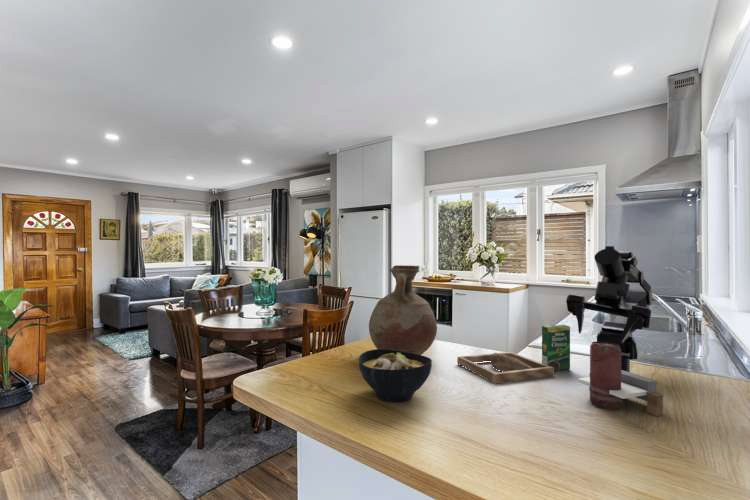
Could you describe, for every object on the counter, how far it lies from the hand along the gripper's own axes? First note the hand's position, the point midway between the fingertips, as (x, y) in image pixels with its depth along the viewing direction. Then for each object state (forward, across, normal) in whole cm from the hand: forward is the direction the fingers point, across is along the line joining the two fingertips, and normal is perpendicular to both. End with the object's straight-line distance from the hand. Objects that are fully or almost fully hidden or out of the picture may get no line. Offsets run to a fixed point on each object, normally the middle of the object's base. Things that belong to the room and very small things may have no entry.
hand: (599, 337), depth 94 cm
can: (+16, +4, +1) cm, 17 cm away
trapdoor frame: (+12, +7, +5) cm, 15 cm away
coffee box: (+4, -11, +19) cm, 22 cm away
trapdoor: (+12, +6, +3) cm, 14 cm away
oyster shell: (+11, -21, +13) cm, 27 cm away
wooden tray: (+12, -23, +10) cm, 28 cm away
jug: (+22, -51, +4) cm, 56 cm away
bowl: (+38, -35, -18) cm, 54 cm away
